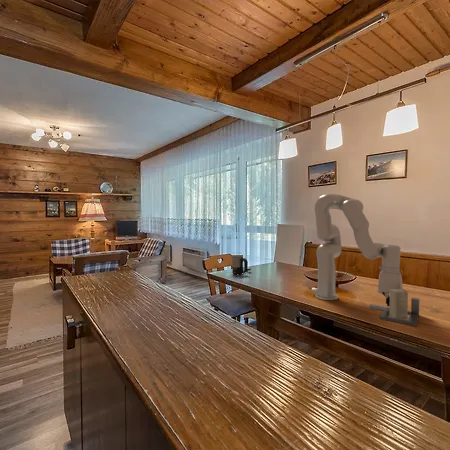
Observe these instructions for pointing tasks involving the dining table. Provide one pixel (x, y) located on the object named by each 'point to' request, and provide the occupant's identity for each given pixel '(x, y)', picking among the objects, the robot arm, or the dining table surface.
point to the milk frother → (239, 264)
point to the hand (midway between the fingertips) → (389, 305)
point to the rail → (414, 310)
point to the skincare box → (398, 303)
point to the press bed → (399, 318)
